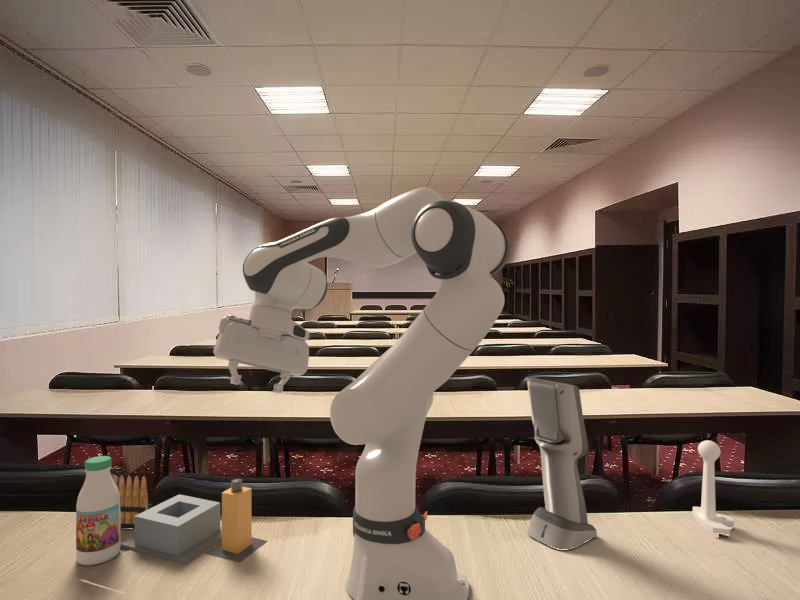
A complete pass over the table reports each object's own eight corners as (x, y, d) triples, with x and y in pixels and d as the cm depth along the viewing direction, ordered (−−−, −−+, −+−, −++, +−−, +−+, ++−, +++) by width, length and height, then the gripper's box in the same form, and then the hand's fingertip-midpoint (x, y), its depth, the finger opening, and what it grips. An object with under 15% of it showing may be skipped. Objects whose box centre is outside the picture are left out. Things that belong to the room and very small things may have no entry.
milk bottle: (79, 551, 102) (79, 455, 102) (122, 543, 105) (121, 450, 105) (73, 570, 95) (72, 467, 95) (118, 561, 98) (118, 462, 98)
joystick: (687, 515, 120) (688, 433, 119) (721, 517, 118) (722, 435, 118) (708, 537, 109) (709, 447, 108) (746, 540, 107) (747, 449, 107)
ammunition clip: (150, 526, 113) (150, 474, 113) (145, 530, 111) (145, 477, 111) (106, 524, 114) (105, 473, 114) (100, 528, 112) (100, 476, 112)
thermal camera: (519, 532, 111) (520, 377, 110) (554, 517, 118) (556, 372, 118) (563, 555, 101) (565, 386, 101) (599, 537, 109) (601, 379, 108)
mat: (267, 542, 106) (267, 540, 106) (239, 563, 98) (239, 562, 98) (234, 534, 109) (234, 533, 109) (204, 554, 101) (204, 553, 101)
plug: (251, 544, 105) (251, 478, 104) (238, 553, 101) (238, 486, 100) (235, 540, 106) (235, 476, 106) (221, 549, 102) (221, 483, 102)
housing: (234, 533, 110) (234, 503, 110) (185, 565, 97) (185, 531, 97) (173, 519, 117) (172, 490, 116) (120, 547, 104) (119, 515, 103)
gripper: (227, 309, 100) (212, 376, 95) (316, 334, 111) (306, 395, 106) (217, 315, 104) (202, 379, 99) (302, 339, 116) (293, 398, 111)
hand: (256, 388), depth 103 cm, fingers open, 8 cm apart
